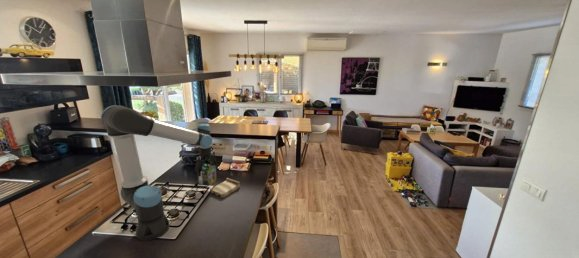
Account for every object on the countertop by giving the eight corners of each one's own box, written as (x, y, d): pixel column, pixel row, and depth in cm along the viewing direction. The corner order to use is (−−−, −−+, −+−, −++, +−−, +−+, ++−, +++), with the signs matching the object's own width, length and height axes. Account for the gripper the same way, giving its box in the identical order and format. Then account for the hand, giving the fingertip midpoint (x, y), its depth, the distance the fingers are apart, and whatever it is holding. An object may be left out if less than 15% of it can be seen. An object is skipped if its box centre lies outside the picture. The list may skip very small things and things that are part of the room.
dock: (223, 198, 150) (222, 192, 148) (210, 192, 155) (210, 186, 154) (239, 187, 163) (239, 181, 162) (227, 183, 169) (227, 177, 168)
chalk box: (216, 180, 161) (216, 161, 158) (208, 186, 153) (207, 165, 149) (206, 178, 164) (205, 158, 161) (197, 183, 156) (195, 163, 152)
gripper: (194, 152, 141) (196, 185, 147) (221, 143, 160) (222, 172, 165) (186, 150, 145) (189, 181, 150) (214, 141, 163) (215, 170, 169)
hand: (206, 177), depth 158 cm, fingers closed on chalk box, 10 cm apart
